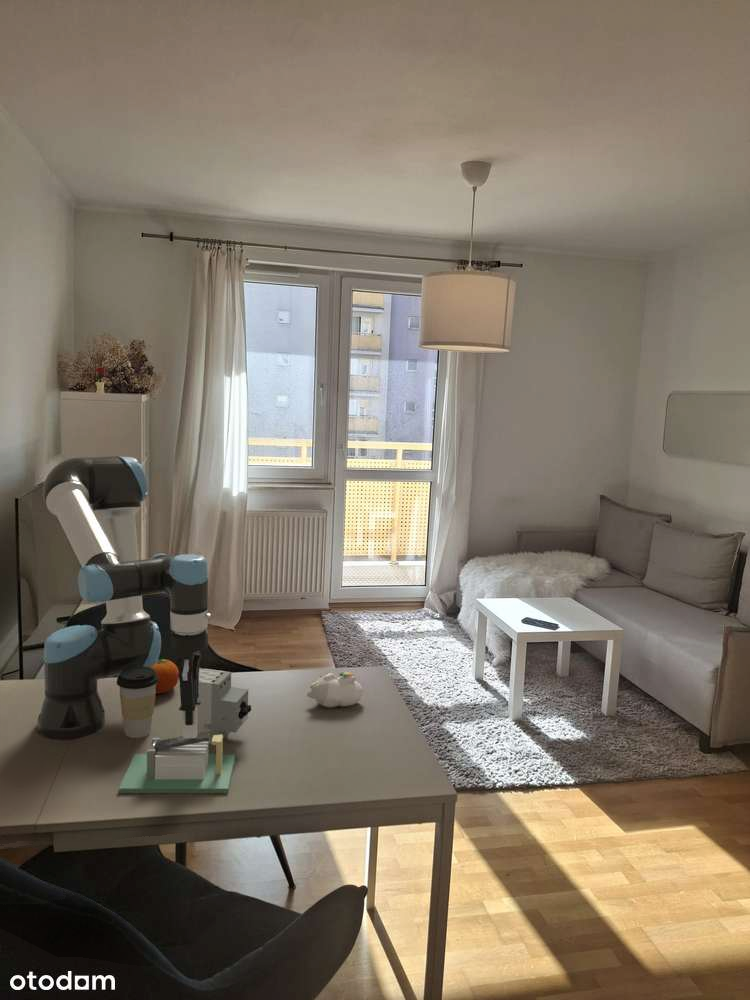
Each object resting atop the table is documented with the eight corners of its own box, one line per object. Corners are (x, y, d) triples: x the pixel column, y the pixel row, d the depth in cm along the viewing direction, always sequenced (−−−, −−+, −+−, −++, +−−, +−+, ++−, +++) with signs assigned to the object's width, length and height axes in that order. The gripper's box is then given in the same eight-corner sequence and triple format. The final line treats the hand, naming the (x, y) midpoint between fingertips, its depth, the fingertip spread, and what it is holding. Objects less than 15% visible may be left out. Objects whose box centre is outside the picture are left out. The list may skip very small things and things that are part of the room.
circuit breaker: (242, 749, 170) (243, 687, 168) (184, 740, 173) (185, 679, 170) (253, 734, 177) (255, 675, 175) (198, 725, 180) (199, 667, 178)
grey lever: (149, 753, 155) (148, 748, 154) (152, 745, 158) (151, 740, 158) (209, 741, 155) (208, 736, 155) (211, 734, 159) (210, 729, 158)
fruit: (156, 702, 192) (156, 673, 191) (130, 691, 197) (130, 663, 196) (187, 689, 201) (187, 661, 200) (161, 679, 206) (161, 652, 205)
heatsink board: (118, 793, 150) (118, 754, 148) (135, 758, 164) (135, 722, 162) (228, 793, 152) (228, 754, 150) (235, 758, 166) (235, 723, 164)
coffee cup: (135, 745, 169) (135, 684, 167) (108, 733, 174) (107, 673, 171) (166, 730, 177) (167, 671, 174) (140, 719, 182) (140, 661, 179)
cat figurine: (365, 667, 198) (311, 665, 193) (370, 693, 192) (315, 691, 187) (355, 689, 203) (302, 687, 198) (360, 714, 197) (306, 713, 192)
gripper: (203, 640, 147) (203, 751, 150) (211, 619, 159) (212, 722, 163) (164, 640, 146) (166, 751, 149) (176, 619, 159) (177, 723, 162)
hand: (190, 736), depth 156 cm, fingers closed
